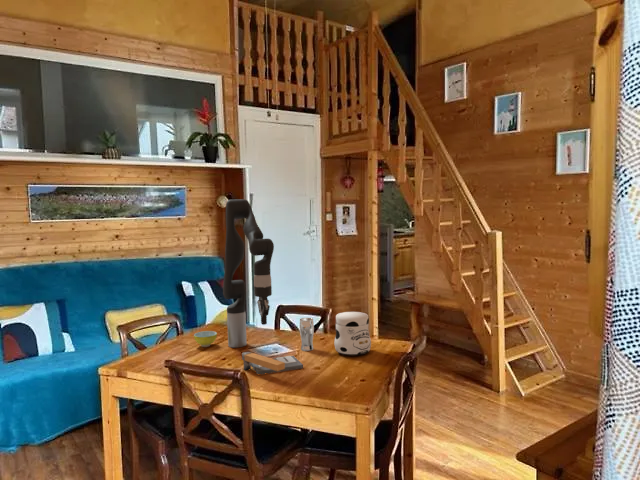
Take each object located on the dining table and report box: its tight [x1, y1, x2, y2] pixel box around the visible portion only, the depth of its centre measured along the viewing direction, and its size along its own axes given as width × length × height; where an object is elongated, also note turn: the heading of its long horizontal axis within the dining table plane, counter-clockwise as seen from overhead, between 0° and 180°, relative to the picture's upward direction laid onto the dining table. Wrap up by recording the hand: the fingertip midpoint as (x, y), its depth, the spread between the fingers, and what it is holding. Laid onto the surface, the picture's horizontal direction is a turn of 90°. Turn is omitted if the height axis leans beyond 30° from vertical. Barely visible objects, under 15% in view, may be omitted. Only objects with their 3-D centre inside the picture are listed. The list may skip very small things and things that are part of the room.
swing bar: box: [241, 351, 285, 371], centre depth 202 cm, size 24×4×2 cm, turn 47°
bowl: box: [193, 330, 218, 348], centre depth 246 cm, size 11×12×6 cm
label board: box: [251, 355, 304, 375], centre depth 211 cm, size 14×20×2 cm
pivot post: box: [243, 360, 252, 371], centre depth 209 cm, size 3×3×4 cm
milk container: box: [333, 311, 372, 357], centre depth 228 cm, size 17×17×18 cm
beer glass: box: [299, 317, 315, 352], centre depth 235 cm, size 7×7×15 cm
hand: (264, 324), depth 210 cm, fingers closed
